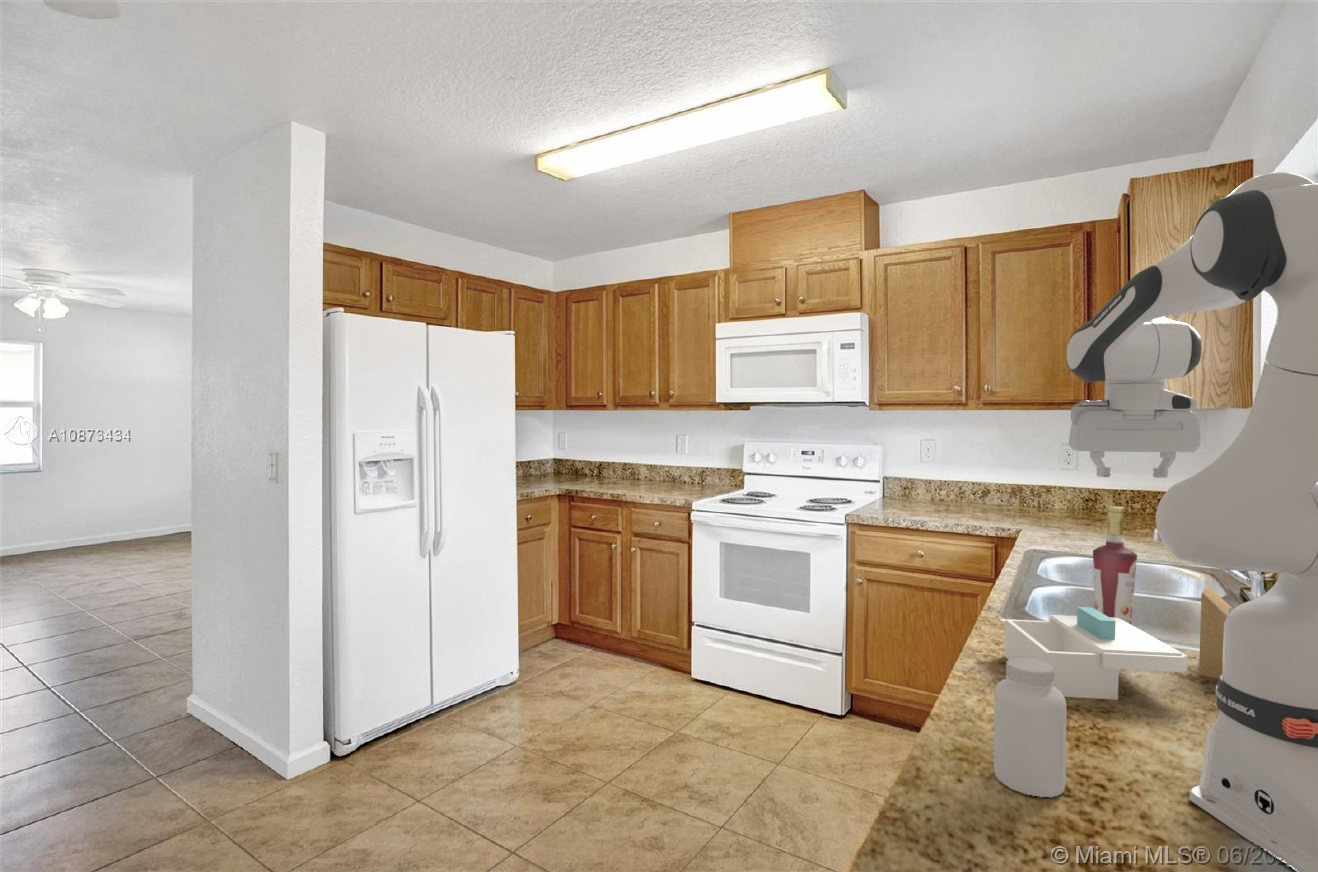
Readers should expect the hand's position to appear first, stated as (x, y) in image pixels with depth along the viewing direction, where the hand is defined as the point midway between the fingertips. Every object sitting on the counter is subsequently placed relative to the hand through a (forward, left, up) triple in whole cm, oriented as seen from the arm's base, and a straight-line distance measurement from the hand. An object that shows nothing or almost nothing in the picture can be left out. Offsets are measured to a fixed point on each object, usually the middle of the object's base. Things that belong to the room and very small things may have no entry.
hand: (1131, 477), depth 120 cm
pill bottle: (-42, +33, -35) cm, 64 cm away
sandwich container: (-2, -20, -36) cm, 41 cm away
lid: (-5, +5, -30) cm, 30 cm away
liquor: (+13, -4, -35) cm, 38 cm away
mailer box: (-5, +14, -35) cm, 38 cm away
